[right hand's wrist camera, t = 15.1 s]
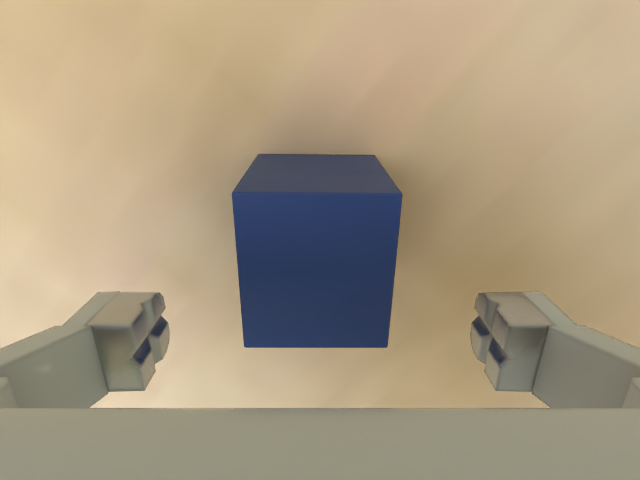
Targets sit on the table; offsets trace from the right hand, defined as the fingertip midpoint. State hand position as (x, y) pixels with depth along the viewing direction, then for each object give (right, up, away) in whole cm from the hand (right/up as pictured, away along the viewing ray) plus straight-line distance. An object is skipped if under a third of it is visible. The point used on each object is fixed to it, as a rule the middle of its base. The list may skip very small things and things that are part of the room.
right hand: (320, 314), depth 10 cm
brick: (0, +3, +5) cm, 6 cm away
